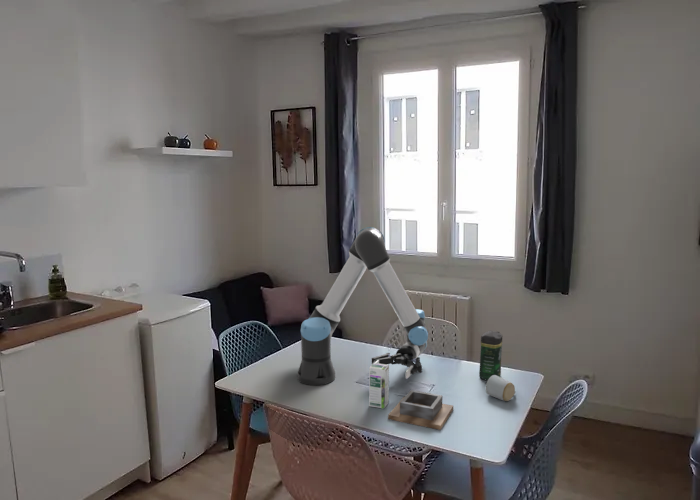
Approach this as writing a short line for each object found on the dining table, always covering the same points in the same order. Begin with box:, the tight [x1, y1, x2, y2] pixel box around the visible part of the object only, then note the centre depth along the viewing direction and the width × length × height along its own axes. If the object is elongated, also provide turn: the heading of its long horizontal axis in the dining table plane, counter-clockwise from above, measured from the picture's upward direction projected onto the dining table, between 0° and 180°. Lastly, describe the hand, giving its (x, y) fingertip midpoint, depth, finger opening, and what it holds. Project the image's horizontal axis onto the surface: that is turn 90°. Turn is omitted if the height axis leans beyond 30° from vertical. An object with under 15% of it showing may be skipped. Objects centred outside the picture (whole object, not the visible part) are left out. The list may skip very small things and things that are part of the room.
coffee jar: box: [478, 330, 503, 381], centre depth 212 cm, size 10×8×19 cm
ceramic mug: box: [485, 375, 516, 402], centre depth 194 cm, size 11×8×8 cm
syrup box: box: [368, 363, 390, 410], centre depth 188 cm, size 6×6×14 cm
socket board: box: [387, 389, 454, 431], centre depth 181 cm, size 18×16×6 cm
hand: (388, 372), depth 195 cm, fingers open, 13 cm apart
